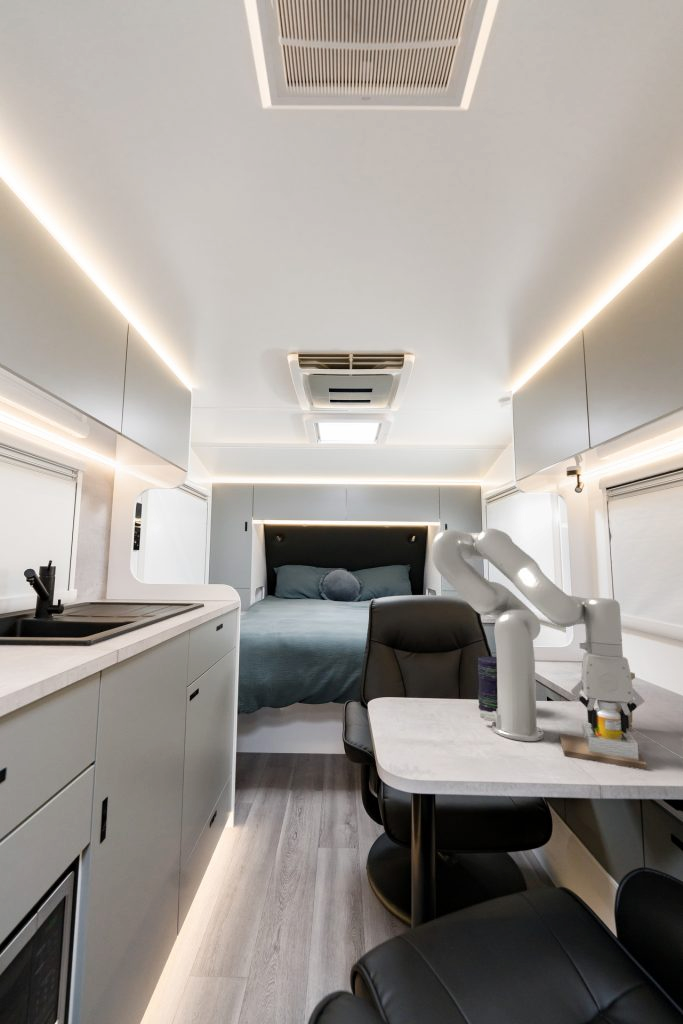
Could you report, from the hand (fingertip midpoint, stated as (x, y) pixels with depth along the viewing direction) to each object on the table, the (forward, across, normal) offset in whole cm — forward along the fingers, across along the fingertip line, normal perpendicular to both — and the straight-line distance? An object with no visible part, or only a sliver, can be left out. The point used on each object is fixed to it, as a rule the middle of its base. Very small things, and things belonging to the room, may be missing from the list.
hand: (608, 728), depth 101 cm
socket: (+5, 0, 0) cm, 5 cm away
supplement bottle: (+4, 0, 0) cm, 4 cm away
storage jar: (+6, -26, +23) cm, 35 cm away
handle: (+6, +8, +23) cm, 25 cm away
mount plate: (+6, -2, 0) cm, 6 cm away
